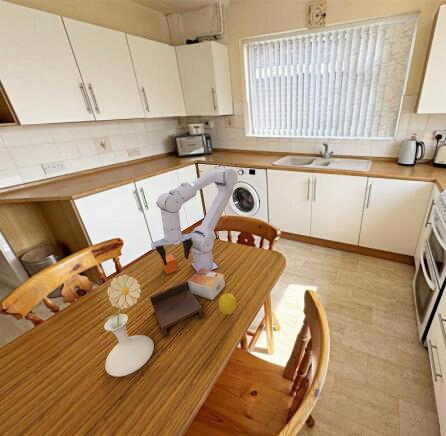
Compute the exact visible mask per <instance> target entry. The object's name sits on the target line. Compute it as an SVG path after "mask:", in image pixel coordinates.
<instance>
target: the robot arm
mask: <svg viewBox="0 0 446 436" xmlns="http://www.w3.org/2000/svg"><path fill="white" fill-rule="evenodd" d="M238 181H239V180H238V175H237V171H236V170H235V169H234V168H231V167H223V166H219V165H215V166H213V167H211V168H209V170H208V171H207V172H205V173H204V174H203V175H201V176H199V177H198V178H196V179H195V180H194V181H192V182H188V181H186V182H184V181H183V182H181V183H180V185H179V186H177V187H175V188H174V189H170V190H169V191H168V192H164V193H161V194H160V195H159V196H158V197H157V200H156V202H155V205H156V206H157V207H158V209H160V214H161V222H162V223H161V224H162V230H163V238H160V239H158V240H155V241H152V242H150V247H151V250H155V251H156V252H157V253H158V255H159V256H160V259H161V258H162V260H163V263H164V265H165V266H166V265H167V261H166V256H167V255H166V249H165V247H166V246H170V245H171V246H172V245H174V246H177V245H179V244H181V243H182V246H183V255H184V258H185V260H189V256H190V252H191V257H192V261H193V263H191V266H192V267H193V269H194V270H195V271H196V272H198V271H199V270H200V269H205V270H209V271H214V270H216V269H218V267H219V266H218V265H217V264H216V263H215V262H214V257H213V252H212V250H213V248H214V244H215V240H216V239H217V238H216V237H217V236H216V233H215V229H216V227H217V224H218V223H219V221H220V219H221V217H222V215H223V214H224V211H225V209H226V207H227V205H228V204H229V201H230V199H231V197H232V195H233V193H234V188H235V185H236V184H237V182H238ZM213 183H214V185H215V187H216V188H217V194H216V195H215V198H214V199H213V201H212V203H211V205H210V207H209V208H208V211H207V212H206V215H204V218H203V220H202V222H201V224H200V225H198V226H196V227H194V228H193V230H192V231H191V233H182V226H181V217H180V216H181V215H180V210H181V208H182V207H183V205H184V204H185V203H187V202H188V201H190V200H191V199H193V198H194V197H196V196H197V193H198V191H200V190H202V189H203V188H205V187H207V186H209V185H211V184H213Z"/></svg>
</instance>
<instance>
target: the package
mask: <svg viewBox="0 0 446 436" xmlns="http://www.w3.org/2000/svg"><path fill="white" fill-rule="evenodd" d="M160 261H161V265H162V268H163V271H164V272H165V274H166V275H169V274H173V273H176V272H177V271H178V270H179V269H178V265H177V262H176V258H175V257H174V256H173V254H172V253H171V254H169V255H168V254H167V255H166V261H167V265H166V266H165V265H164V263H163V260H162V258H161V257H160Z"/></svg>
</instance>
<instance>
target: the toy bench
mask: <svg viewBox="0 0 446 436" xmlns="http://www.w3.org/2000/svg"><path fill="white" fill-rule="evenodd" d="M149 299H150V303H151V305H152V308H153V311H154V314H155V317H156V319H157V321H158V324H159V326H160V329H161V331H162V333H163V337H164V338H166V337H169V333H168V330H167V329H168V328H169V327H172V326H174V325H176V324H177V323H180V322H181V321H183V320H186V319H187V318H189V317H191V316H193V315H195V314H198V317H199V318H200V319H202V318H204V317H205V316H204V312H203V307H202V306H201V304H200V302H199V301H198V299H197V298H196V297H195V294H193V293H192V292H191V290H190V289H189V285H188V282H187V280H185V281H183V282H181V283H178V284H176V285H173V286H171V287H168V288H166V289H165V290H162V291H160V292H157V293H155V294H153V295H150V296H149Z"/></svg>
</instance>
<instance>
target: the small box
mask: <svg viewBox="0 0 446 436" xmlns="http://www.w3.org/2000/svg"><path fill="white" fill-rule="evenodd" d="M186 281H187V282H188V285H189V289H190V290H191V292H192V294H193V295H196V296H200V297H202V298H205V299H207V300H211V301H213V300H214V299H215V298H216V297H217V296H218V295H219V294H220V293H221V292H222V291H223V290H224V288H225V287H226V282H225V275H224V274H223V273H219V272H216V271H213V270H211V271H209V270H205V269H200V270H199V271H198V272H197V271H196V272H195V273H194V274H193V275H192V276H190V277H189V278H188V279H187V280H186Z"/></svg>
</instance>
